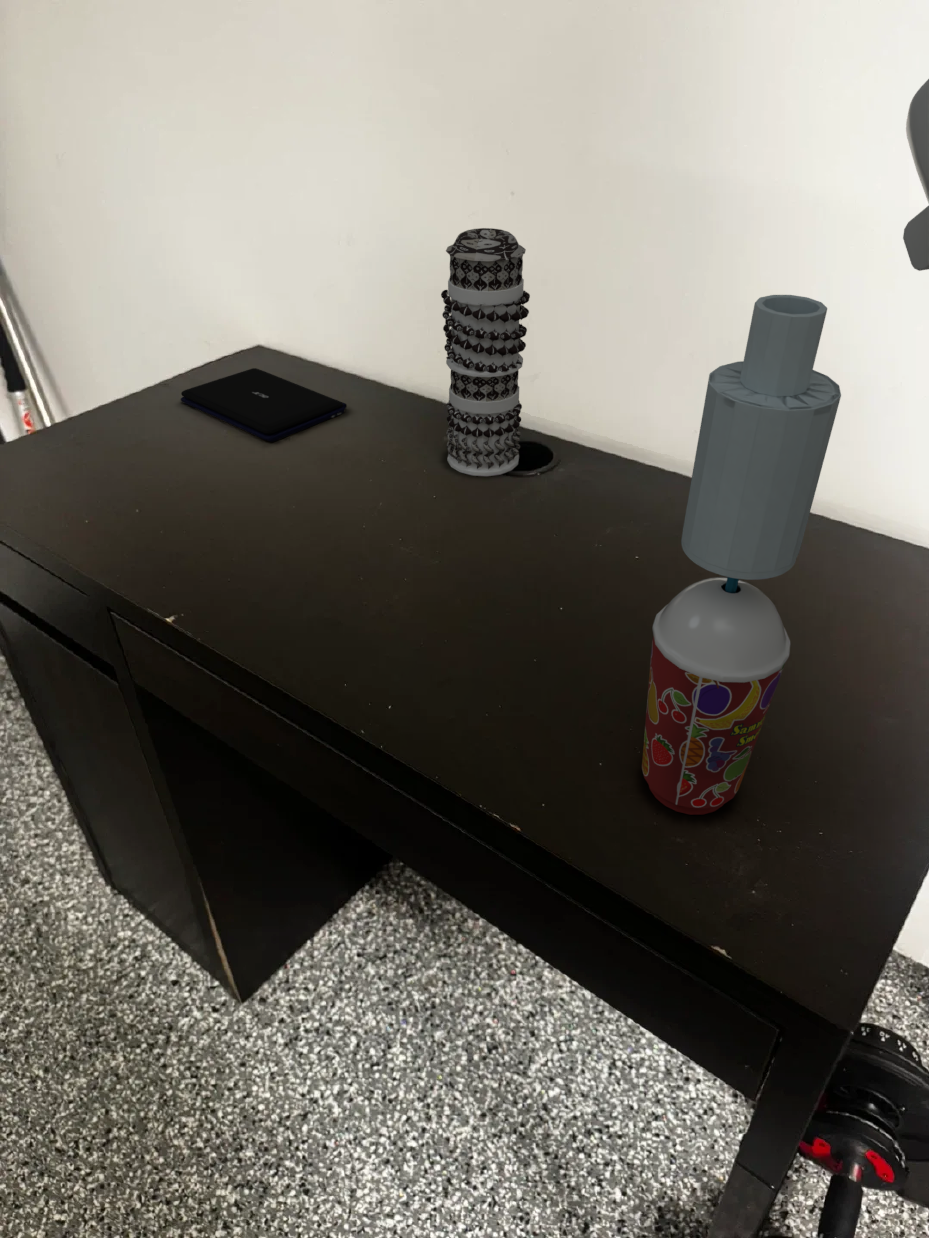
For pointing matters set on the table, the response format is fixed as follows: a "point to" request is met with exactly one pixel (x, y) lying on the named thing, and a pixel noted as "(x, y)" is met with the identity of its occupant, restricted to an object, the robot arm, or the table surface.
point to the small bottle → (761, 446)
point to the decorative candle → (484, 350)
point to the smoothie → (709, 691)
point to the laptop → (263, 404)
